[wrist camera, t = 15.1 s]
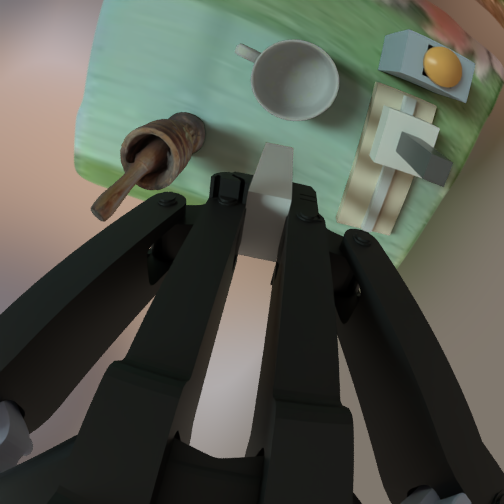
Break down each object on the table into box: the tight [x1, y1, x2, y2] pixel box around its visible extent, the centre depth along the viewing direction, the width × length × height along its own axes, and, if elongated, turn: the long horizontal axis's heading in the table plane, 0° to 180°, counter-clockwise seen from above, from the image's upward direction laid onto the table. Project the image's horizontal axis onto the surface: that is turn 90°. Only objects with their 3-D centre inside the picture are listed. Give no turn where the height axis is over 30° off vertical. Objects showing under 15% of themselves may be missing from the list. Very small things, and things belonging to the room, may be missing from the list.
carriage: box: [369, 105, 453, 187], centre depth 31 cm, size 8×8×14 cm
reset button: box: [422, 47, 462, 88], centre depth 26 cm, size 5×5×7 cm
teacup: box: [235, 40, 339, 121], centre depth 33 cm, size 14×11×8 cm
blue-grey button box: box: [378, 29, 475, 103], centre depth 28 cm, size 6×10×10 cm, turn 81°
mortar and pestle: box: [91, 112, 205, 221], centre depth 37 cm, size 12×9×20 cm
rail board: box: [336, 82, 437, 235], centre depth 41 cm, size 24×10×4 cm, turn 171°
